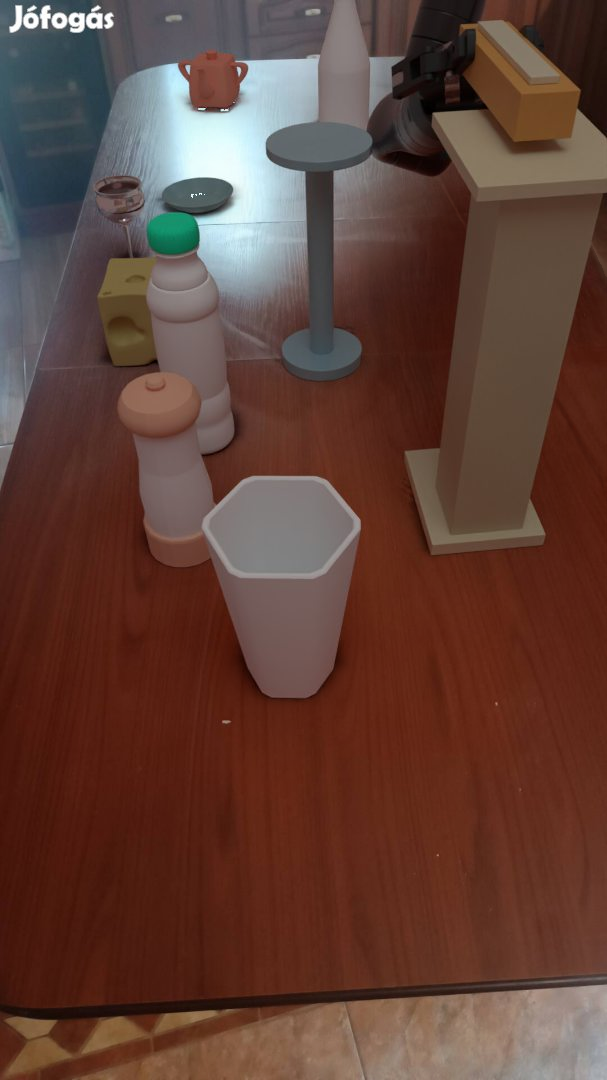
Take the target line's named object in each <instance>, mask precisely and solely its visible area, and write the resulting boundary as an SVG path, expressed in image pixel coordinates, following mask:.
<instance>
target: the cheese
mask: <svg viewBox="0 0 607 1080" xmlns="http://www.w3.org/2000/svg"><path fill="white" fill-rule="evenodd" d="M155 262H156V256H152V257H151V256H150V257H149V256H148V257H133V258H130V257H127V258H126V257H124V258H123V257H122V258H121V257H120V258H118V257H115V258H113V257H112V258H109V261H108V263H107V266H106V270H105V271H106V272H105V275H104V279H103V282H102V285H101V287H100V289H99V292H98V293H97V297H96V298H97V304H98V312H99V315H100V316H99V317H100V319H101V324H102V327H103V333H104V338H105V342H106V346H107V349H108V350H107V351H108V352H109V356H110V359H111V362H112V364H113V367H131V366H132V367H135V366H145V365H149V364H151V363H152V362H153V361H158V359H157V354H156V348H155V343H154V336H153V329H152V320H151V312H150V310H149V308H148V305H147V301H146V291H147V287H148V284H149V281H150V278H151V273H152V269H153V266H154V264H155Z"/></svg>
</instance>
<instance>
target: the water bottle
mask: <svg viewBox="0 0 607 1080" xmlns="http://www.w3.org/2000/svg"><path fill="white" fill-rule="evenodd" d="M200 235H201V233H200V228H199V224H198V221H197V219H196V218H195V217H194V216H193V215H191V214H190V213H187V212H179V211H174V212H165V213H162V214H159V215H156V216H154V217H153V218H151V219H150V220H149V221H148V223H147V225H146V237H147V239H146V240H147V243H148V246H149V249H150V252H151V253H152V254H153V255H154V256H155V257H156V262H155V264H154V266H153V269H152V273H151V278H150V281H149V284H148V287H147V291H146V301H147V305H148V308H149V310H150V312H151V320H152V329H153V336H154V343H155V348H156V354H157V359H158V360H157V363H158V368H159V372H169V373H175V374H178V375H180V376H183V377H185V378H186V379H187V380H188V381H189V382H191V383H192V384H193V385H194V386H195V387H196V389H197V391H198V393H199V395H200V398H201V400H202V403H201V409H200V413H199V416H198V418H197V420H196V421H195V424H196V430H197V436H198V442H199V448H200V453H201V456H202V455H209V454H210V455H211V454H214V453H217V452H219V451H222V450H223V449H224V448H226V447H227V446H228V445H229V444H230V443H231V442H232V440H233V439H234V436H235V422H234V416H233V412H232V408H231V403H232V400H231V397H232V396H231V390H230V385H229V382H228V379H227V377H228V373H227V372H228V369H227V353H226V345H225V336H224V329H223V321H222V316H221V311H220V308H219V307H220V306H219V301H220V291H219V286H218V284H217V282H216V281H215V279H214V277H213V276H212V274H211V273H210V271H209V270H208V268H207V265H206V264H205V263H204V261H203V260H202V258H200V256H199V255H198V250H199V249H200V241H201V236H200Z"/></svg>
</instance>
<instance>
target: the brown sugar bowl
mask: <svg viewBox="0 0 607 1080" xmlns="http://www.w3.org/2000/svg"><path fill="white" fill-rule="evenodd" d="M186 66H189V71H188V70H187V68H186ZM177 68H178V71H179V72H180V74H181V75H182V77H183V78H184V79H185V81H186V82H187V83H188V94H189V99H190V102H191V104H192V106H194V107H197V108H206V107H207V108H220V109H224V110H225V109H228V108H229V109H230V107H231V105H233V104H232V103H233V102H235V101H237V99H238V97H239V94H240V89H241V84H242V82H243V81H244V80H245V78H246V77H247V75H248V73H249V65H248V64H247V63H246V62H243V61H236V59H235V55H234V54H233V53H228V52H218V51H217V49H208V50H206V51H205V52H201V53H199V54H197V56H194V58H193V59H192V60H190V59H189V60H188V59H182V60H179V62H178V63H177ZM238 68H239V69H240V73H239V70H238ZM220 109H219V110H220Z"/></svg>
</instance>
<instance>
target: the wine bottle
mask: <svg viewBox="0 0 607 1080" xmlns="http://www.w3.org/2000/svg"><path fill="white" fill-rule="evenodd" d="M317 81H318V82H317V93H318V95H317V96H318V97H317V98H318V99H317V100H318V101H317V102H318V104H317V105H318V107H317V108H318V111H317V112H318V122H334V123H342V124H348V125H352V126H355V127H358V128H361V129H363V130H365V131H366V130H367V125H368V121H369V119H370V93H371V92H370V87H371V60H370V55H369V51H368V47H367V43H366V39H365V36H364V32H363V27H362V25H361V21H360V16H359V13H358V10H357V4H356V0H333V6H332V10H331V15H330V18H329V22H328V26H327V29H326V32H325V36H324V39H323V43H322V47H321V51H320V55H319V58H318V63H317Z"/></svg>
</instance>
